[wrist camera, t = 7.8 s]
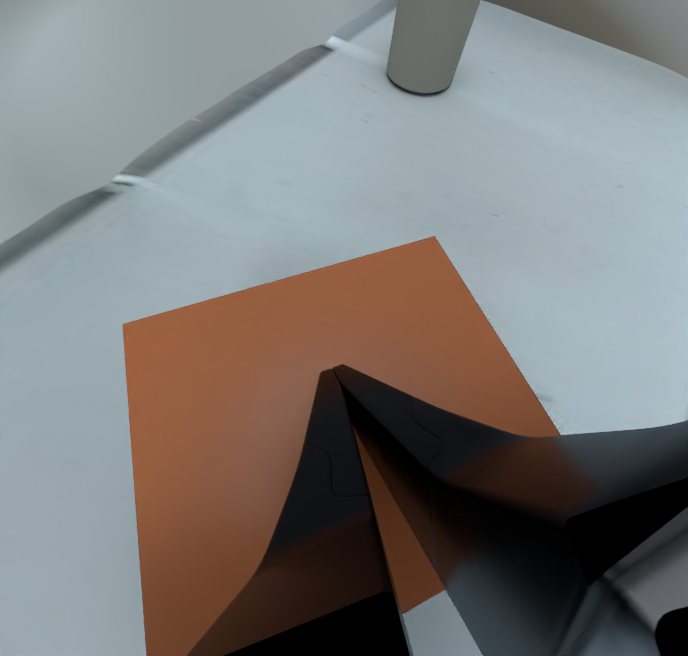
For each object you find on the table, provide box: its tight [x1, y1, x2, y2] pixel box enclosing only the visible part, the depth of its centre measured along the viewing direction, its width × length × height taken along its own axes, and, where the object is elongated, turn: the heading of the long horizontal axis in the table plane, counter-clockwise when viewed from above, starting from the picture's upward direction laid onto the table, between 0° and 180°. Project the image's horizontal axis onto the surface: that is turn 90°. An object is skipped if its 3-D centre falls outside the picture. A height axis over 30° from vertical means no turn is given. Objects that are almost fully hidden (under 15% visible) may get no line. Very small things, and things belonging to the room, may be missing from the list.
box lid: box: [123, 236, 560, 656], centre depth 9 cm, size 11×14×1 cm
